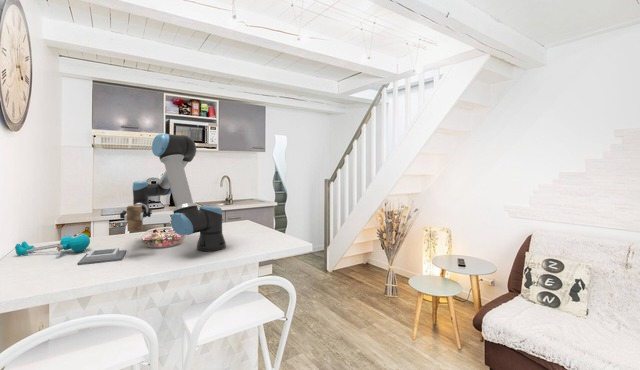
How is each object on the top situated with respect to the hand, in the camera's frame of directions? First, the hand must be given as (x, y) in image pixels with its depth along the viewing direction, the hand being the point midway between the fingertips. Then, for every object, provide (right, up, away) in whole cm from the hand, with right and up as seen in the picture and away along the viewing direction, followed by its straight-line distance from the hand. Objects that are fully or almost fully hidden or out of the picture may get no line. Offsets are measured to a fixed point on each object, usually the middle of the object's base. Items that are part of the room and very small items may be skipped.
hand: (133, 217), depth 149 cm
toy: (-45, -19, +8) cm, 50 cm away
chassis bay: (-15, -20, 0) cm, 25 cm away
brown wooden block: (-2, -7, +5) cm, 9 cm away
